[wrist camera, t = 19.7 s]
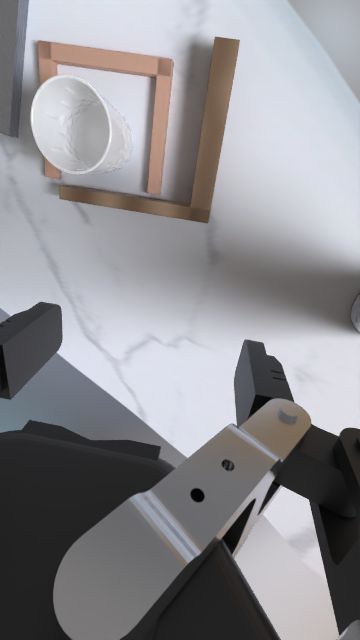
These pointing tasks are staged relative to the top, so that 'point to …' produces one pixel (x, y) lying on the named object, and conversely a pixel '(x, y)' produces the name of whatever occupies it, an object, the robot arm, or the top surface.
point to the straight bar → (11, 62)
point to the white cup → (79, 127)
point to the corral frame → (120, 63)
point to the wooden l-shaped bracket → (207, 152)
